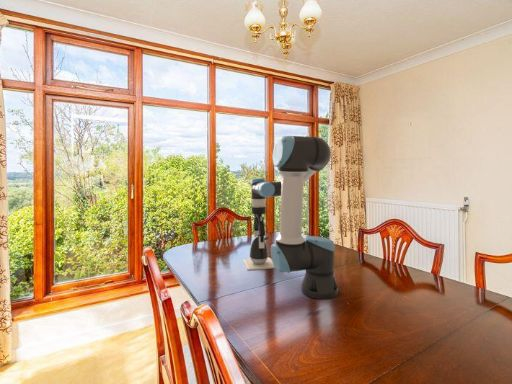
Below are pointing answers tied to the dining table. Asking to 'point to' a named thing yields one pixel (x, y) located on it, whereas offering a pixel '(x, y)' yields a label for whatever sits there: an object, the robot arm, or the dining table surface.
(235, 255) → the dining table surface
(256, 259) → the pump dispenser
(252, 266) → the trivet
